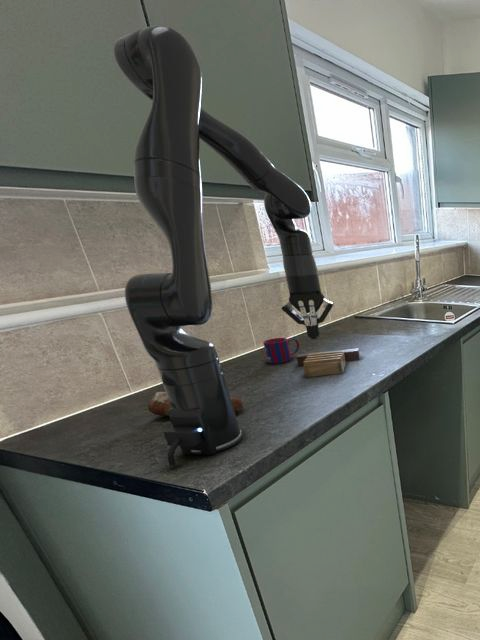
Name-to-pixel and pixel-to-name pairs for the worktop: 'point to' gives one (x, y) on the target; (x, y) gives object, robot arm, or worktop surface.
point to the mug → (279, 350)
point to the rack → (324, 363)
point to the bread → (162, 404)
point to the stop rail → (349, 353)
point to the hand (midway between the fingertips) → (314, 338)
